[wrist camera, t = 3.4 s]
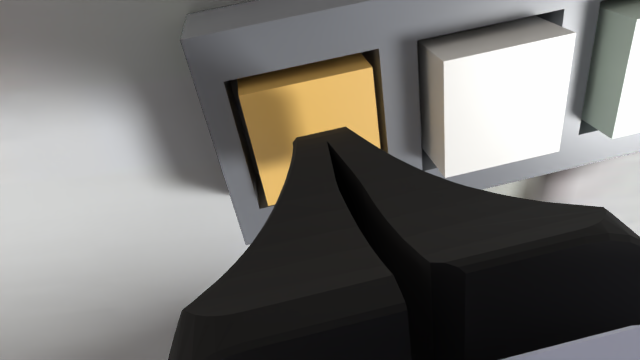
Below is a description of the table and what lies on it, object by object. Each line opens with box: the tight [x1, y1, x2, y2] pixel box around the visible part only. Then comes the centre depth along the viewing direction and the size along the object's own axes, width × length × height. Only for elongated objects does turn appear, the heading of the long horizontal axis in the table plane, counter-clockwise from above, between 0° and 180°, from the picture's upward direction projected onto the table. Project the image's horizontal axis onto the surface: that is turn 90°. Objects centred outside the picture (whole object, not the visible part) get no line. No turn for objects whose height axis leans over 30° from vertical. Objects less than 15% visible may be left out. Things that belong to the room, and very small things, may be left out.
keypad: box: [180, 0, 640, 245], centre depth 14 cm, size 15×6×3 cm, turn 99°
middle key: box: [418, 16, 576, 178], centre depth 13 cm, size 3×3×2 cm
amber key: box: [237, 53, 380, 206], centre depth 13 cm, size 3×3×2 cm
